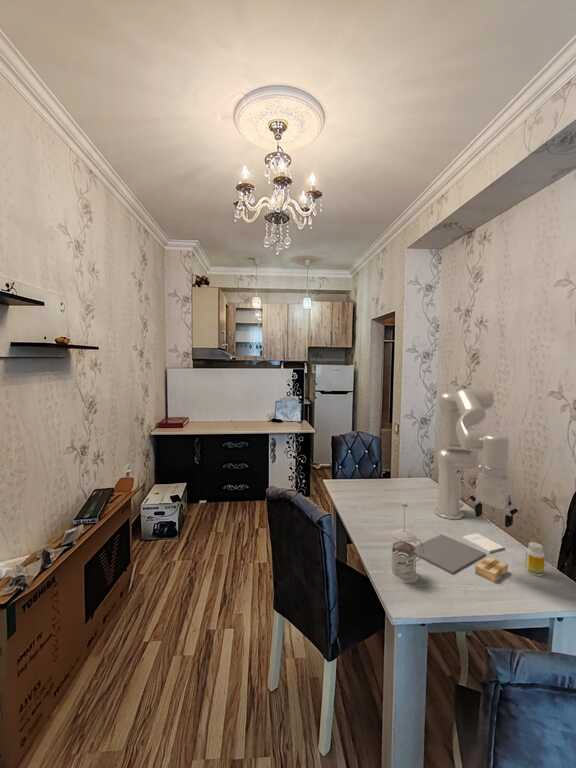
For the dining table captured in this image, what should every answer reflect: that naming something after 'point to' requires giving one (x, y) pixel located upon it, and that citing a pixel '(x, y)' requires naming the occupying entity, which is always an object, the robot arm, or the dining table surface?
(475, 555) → the rubber mat
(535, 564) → the supplement bottle
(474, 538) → the external hard drive
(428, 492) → the dining table surface
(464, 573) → the dining table surface
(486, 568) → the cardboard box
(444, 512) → the robot arm
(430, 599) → the dining table surface
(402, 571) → the french press
